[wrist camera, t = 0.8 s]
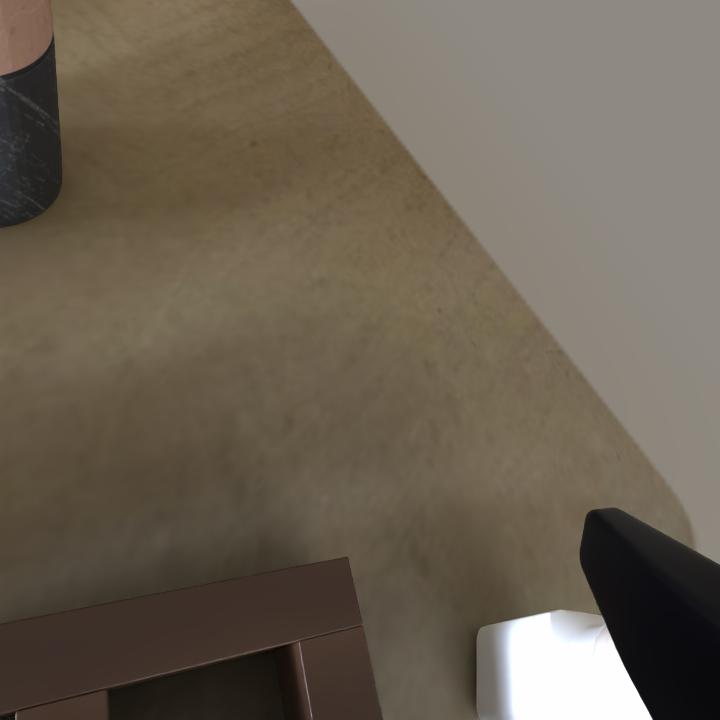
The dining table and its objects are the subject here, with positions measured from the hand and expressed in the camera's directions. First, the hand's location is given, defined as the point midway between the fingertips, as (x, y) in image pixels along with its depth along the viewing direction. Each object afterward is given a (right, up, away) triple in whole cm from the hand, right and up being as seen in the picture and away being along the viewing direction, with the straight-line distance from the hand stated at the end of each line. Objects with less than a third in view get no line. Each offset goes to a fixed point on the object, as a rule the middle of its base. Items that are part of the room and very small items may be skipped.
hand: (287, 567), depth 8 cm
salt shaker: (+8, -12, +19) cm, 23 cm away
